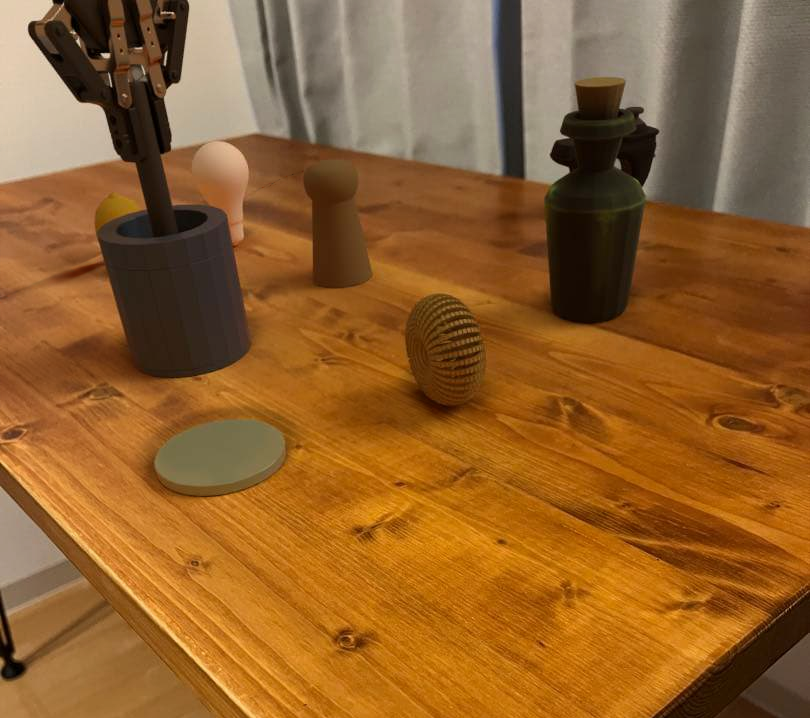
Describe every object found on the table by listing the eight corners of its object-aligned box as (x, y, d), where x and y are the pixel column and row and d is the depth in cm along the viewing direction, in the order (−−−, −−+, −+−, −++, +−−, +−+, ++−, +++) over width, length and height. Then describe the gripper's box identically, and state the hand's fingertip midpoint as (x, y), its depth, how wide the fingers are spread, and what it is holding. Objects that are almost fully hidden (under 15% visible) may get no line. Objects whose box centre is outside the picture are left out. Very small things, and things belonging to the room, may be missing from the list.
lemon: (140, 278, 93) (120, 200, 88) (97, 276, 94) (74, 199, 90) (168, 260, 97) (149, 185, 92) (125, 258, 99) (105, 184, 94)
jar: (108, 365, 75) (69, 236, 69) (189, 321, 82) (161, 200, 75) (195, 386, 70) (162, 250, 64) (274, 338, 77) (252, 210, 71)
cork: (383, 269, 89) (372, 155, 83) (351, 290, 85) (337, 171, 79) (334, 263, 92) (320, 152, 85) (301, 283, 88) (283, 168, 81)
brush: (184, 320, 71) (128, 90, 61) (146, 313, 73) (86, 89, 63) (220, 301, 74) (172, 78, 64) (182, 294, 76) (130, 77, 66)
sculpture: (496, 415, 63) (495, 308, 58) (446, 429, 62) (440, 322, 57) (447, 373, 69) (442, 273, 64) (400, 386, 68) (392, 285, 63)
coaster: (129, 477, 60) (126, 467, 59) (217, 418, 66) (215, 409, 65) (228, 509, 56) (225, 499, 55) (312, 443, 62) (310, 433, 61)
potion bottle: (651, 299, 78) (671, 72, 67) (613, 333, 72) (629, 94, 62) (567, 286, 82) (574, 70, 71) (526, 318, 76) (527, 90, 66)
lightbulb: (224, 258, 96) (203, 151, 89) (197, 247, 100) (175, 144, 93) (271, 243, 99) (254, 139, 92) (243, 233, 103) (225, 132, 96)
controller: (658, 203, 100) (667, 107, 94) (562, 222, 97) (564, 125, 91) (638, 194, 103) (645, 101, 97) (544, 212, 100) (545, 118, 94)
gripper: (117, -126, 63) (174, 134, 73) (-50, -118, 54) (42, 177, 64) (194, -137, 59) (242, 138, 70) (29, -130, 50) (113, 185, 60)
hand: (146, 155), depth 67 cm, fingers closed on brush, 2 cm apart
